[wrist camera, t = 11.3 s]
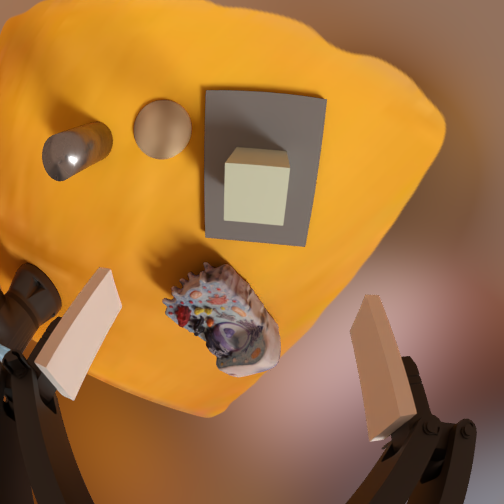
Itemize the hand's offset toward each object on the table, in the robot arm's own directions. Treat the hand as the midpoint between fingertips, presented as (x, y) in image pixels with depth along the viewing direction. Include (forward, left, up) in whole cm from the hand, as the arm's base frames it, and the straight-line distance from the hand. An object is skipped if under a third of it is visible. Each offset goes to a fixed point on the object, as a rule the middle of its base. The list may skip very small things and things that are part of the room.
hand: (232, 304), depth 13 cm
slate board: (0, 0, -24) cm, 24 cm away
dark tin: (-24, +4, -24) cm, 34 cm away
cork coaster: (-13, +5, -24) cm, 28 cm away
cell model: (-3, -23, -24) cm, 34 cm away
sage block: (0, 0, -23) cm, 23 cm away
